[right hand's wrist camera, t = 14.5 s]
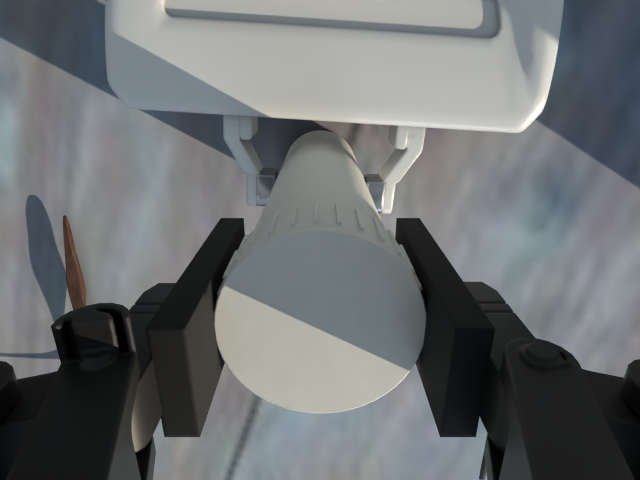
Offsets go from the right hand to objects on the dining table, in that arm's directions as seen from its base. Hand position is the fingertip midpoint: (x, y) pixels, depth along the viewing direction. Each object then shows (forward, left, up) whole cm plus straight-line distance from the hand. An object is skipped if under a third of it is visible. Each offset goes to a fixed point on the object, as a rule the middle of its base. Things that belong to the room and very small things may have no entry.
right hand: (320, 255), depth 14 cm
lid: (0, 0, +4) cm, 4 cm away
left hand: (0, -1, -9) cm, 9 cm away
